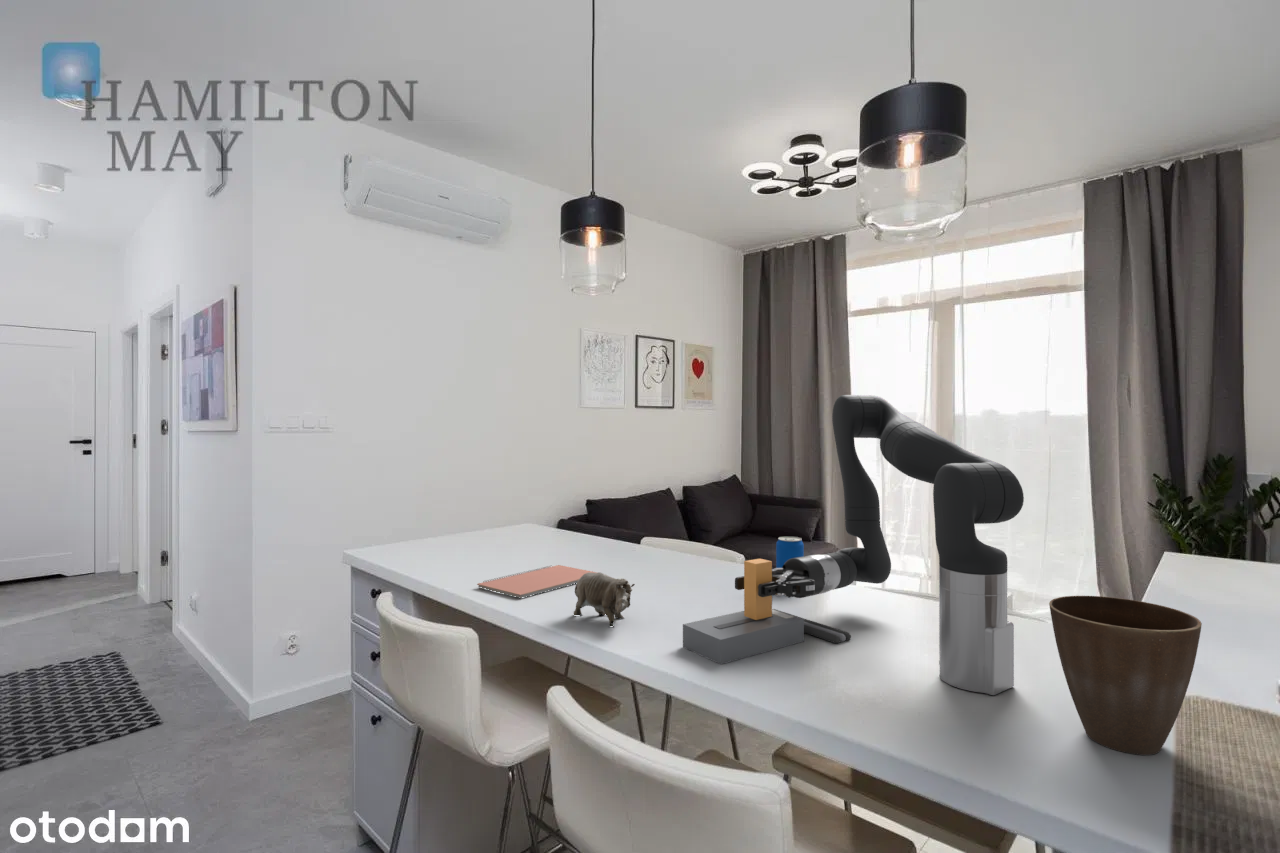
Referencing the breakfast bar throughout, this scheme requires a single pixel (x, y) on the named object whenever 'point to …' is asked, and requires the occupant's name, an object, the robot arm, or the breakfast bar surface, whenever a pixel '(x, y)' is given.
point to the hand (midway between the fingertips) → (748, 587)
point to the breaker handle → (753, 576)
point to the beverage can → (788, 549)
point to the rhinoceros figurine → (603, 595)
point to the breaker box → (741, 635)
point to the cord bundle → (824, 631)
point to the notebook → (535, 580)
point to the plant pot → (1125, 667)
